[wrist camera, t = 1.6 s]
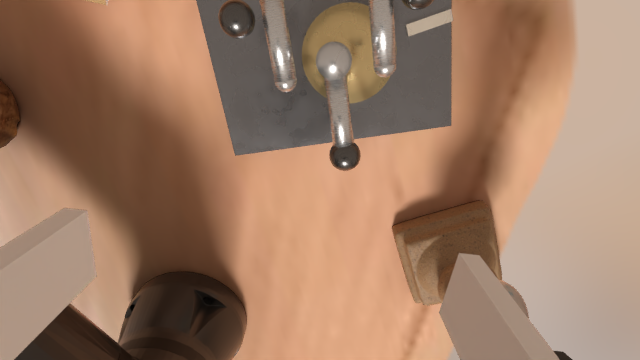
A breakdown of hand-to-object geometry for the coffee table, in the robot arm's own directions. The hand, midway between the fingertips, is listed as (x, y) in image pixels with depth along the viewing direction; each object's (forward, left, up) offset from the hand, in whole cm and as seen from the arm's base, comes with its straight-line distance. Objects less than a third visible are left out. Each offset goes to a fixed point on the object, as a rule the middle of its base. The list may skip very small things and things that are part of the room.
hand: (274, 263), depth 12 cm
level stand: (+3, +6, -25) cm, 26 cm away
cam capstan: (+3, +5, -22) cm, 23 cm away
